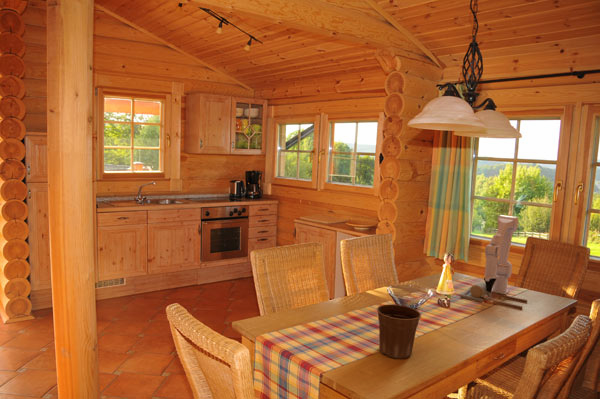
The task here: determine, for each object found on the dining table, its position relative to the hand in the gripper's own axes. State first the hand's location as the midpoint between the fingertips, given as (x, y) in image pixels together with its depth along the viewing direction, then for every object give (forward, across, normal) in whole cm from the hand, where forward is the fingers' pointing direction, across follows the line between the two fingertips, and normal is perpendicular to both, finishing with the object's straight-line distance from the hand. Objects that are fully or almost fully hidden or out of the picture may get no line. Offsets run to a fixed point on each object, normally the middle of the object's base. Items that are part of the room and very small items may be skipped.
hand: (488, 291), depth 243 cm
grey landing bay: (+4, 0, +6) cm, 7 cm away
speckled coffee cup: (+4, 0, +4) cm, 6 cm away
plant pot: (+4, -98, +11) cm, 99 cm away
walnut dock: (+4, 0, -11) cm, 12 cm away
